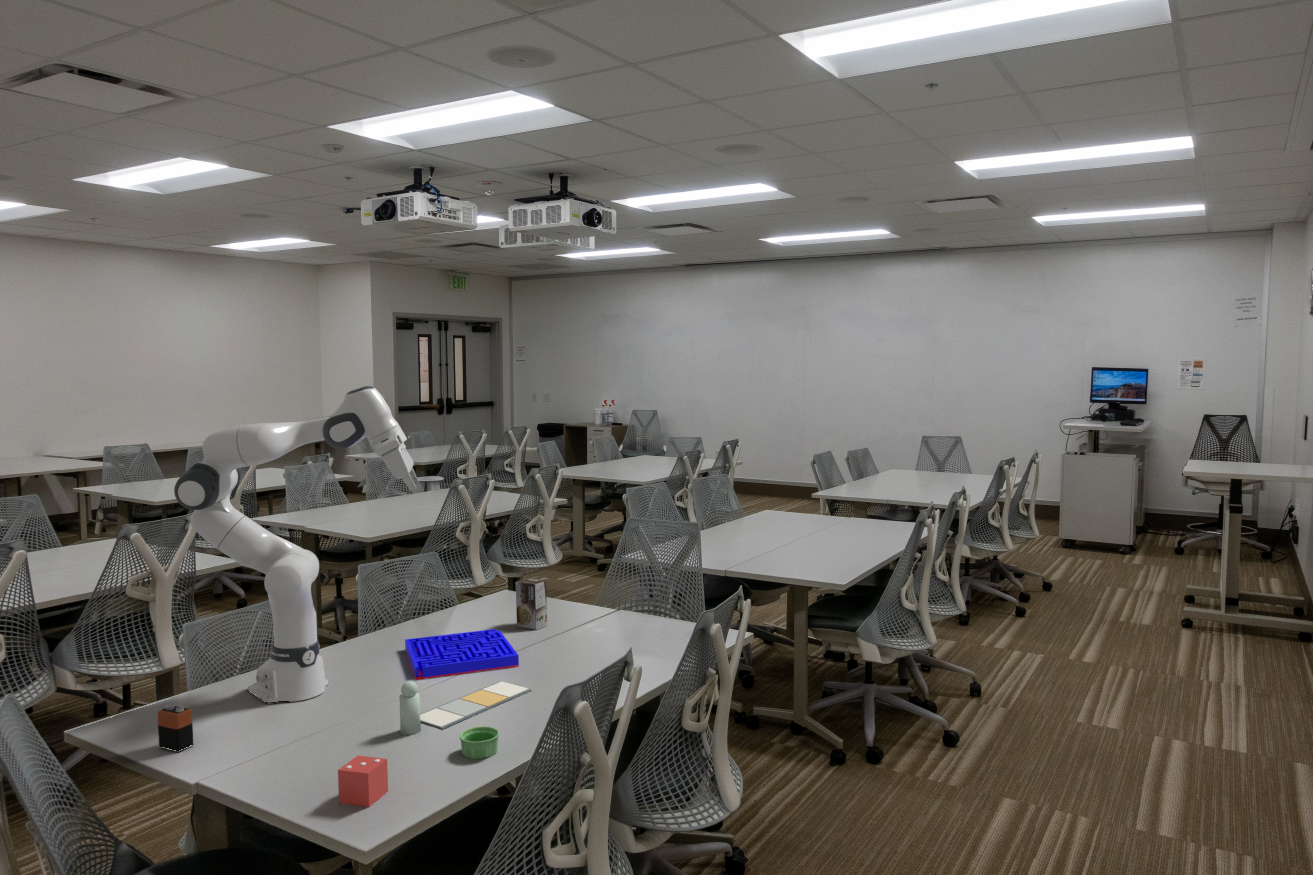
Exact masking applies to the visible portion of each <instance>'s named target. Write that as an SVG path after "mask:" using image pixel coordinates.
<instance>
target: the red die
mask: <svg viewBox="0 0 1313 875" xmlns="http://www.w3.org/2000/svg"><path fill="white" fill-rule="evenodd" d="M388 774H389V772H388V758H383V757H375V756H367V755H356V756H355V757H354V758H352V759H350V760H349V761H348V762H347V763H345V764H344V765H343V766H341V767H340V768H339V769H337V782H338V786H337V787H338V804H345V805H351V806H360V807H366V808H370V807H371V806H372V805H373V804H374V803H376V802H377V801H378V800H380V799H381V798H382V797H383V796H384V795H385V794H387V793H388V792H389V780H388V779H389V778H388V777H389V776H388Z"/></svg>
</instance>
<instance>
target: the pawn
mask: <svg viewBox="0 0 1313 875" xmlns="http://www.w3.org/2000/svg"><path fill="white" fill-rule="evenodd" d="M418 691H419V688H418V684H417V683H416V682H415V681H412V680H408V681H405V682H404V683H403V684H402V685H401V688H400V692H401V694H400V695H399V720H400V721H399V727H400V729H399V730H400V734H401V735H402V736H403V735H404V736H412V735H411V734H413V735H416V733H417V734H418V733H420V732H421V730H422V729H421V726H422V723H421V722H420V714H421V696H420V693H419V692H418Z"/></svg>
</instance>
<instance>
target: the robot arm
mask: <svg viewBox="0 0 1313 875" xmlns="http://www.w3.org/2000/svg"><path fill="white" fill-rule="evenodd" d="M365 440H367V441H368V442H369V444H370V446H371V447H372V449H373V451H374V453H375V455H376V456H377V457H380V458H381V459H382V461H383V462H384V464H385V465H386V467H387V468H388V469H389V471H390V472H391V474H392V476H394V478H396V480H400V479H401V480H402V481H403V483H404V484H405V486H407V488H408V489H409V491H410V492H413V491H415V490H416V489H417V484H419V481H420V480H419V479H418V478H417V476H416V473H415V471H414V468H413V467H414V464H415V463H414V460H413V459H412V457H411V455H410V453H409V452H408V449H406V448H407V446H406V444H405V442H407V440H408V438H407V436H406V435H405V432H404V431H403V429H402V427H401V425H400V424H399V422H398V421H397V420H396V419H395V418H394V417H393V415H392V411H391V408H390V406H389V404H388V402H387V401H386V400H385V399H384V397H383V396H382V395H381V393H380V392H379V391H378V389H377V388H375V387H374V386H372V385H365V386H362V387H359V388H356V389H352V390H349V391H348V392H347V393H346V394H345V396H344V399H343V401H342V402H341V404H340V405H339V406H338V408H337V409H336V410H335V412H333V413H332V415H327V416H322V417H317V418H313V419H307V420H301V421H287V422H260V423H259V422H258V423H257V422H256V423H248V424H247V423H246V424H241V425H238V426H237V425H235V426H232V427H228V428H224V429H221V430H218V431H215V432H213V433H211V434H209V435H208V436H206V438H205V439H204V441H203V444H202V454H203V460H202V461H201V462H196V463H194V464H193V465H192V466H190V468H188V469H187V470H186V471H184V472H183V473H182V474H181V476H179V478H178V480H176V482H175V484H174V490H173V494H174V497H175V499H176V501H177V503H179V505H181V506H182V507H183V508H185V509H188V510H191V511H193V512H192V513H191V516H190V525H191V527H192V529H193V530H194V531H195V532H196V533H197V534H199V536H201V538H202V539H203V540H205V541H206V542H207V543H209V544H210V545H211V546H213V548H216V549H217V550H219V551H220V552H221V553H223V554H224V555H226V556H227V557H229V558H230V559H231V560H233V561H235V562H236V563H238V564H239V565H241V566H243V567H245V568H249V569H253V570H255V571H258V572H260V573H262V574H264V575H265V576H264V583H263V584H264V589H265V591H266V594H267V598H268V601H269V606H270V610H271V615H272V625H273V626H272V629H273V644H270V645H268V646H269V648H268V650H270V656H269V658H268V659H267V660H266V661H265V662H264V663H263V664H261V665H260V666H259V667H258V669H257V671H256V676H255V680H256V682H254V683H252V684H250V685H249V686H247V687H246V688H247V689H248V690H250V691H251V692H252V693H254V694H256V695H257V696H258V697H260V698H261V699H263V700H264V701H265V702H276V703H279V702H278V701H289V702H301V701H304V700H309V699H313V698H315V697H317V696H319V695H320V696H321V695H322V694H323V693H324V692H325V691H326V687H327V686H328V684H329V679H327V678H325V668H324V661H323V656H321V655H319V654H320V647H321V646H320V641H319V639H318V630H317V629H318V625H317V624H318V623H317V611H316V609H315V606H314V603H313V602H314V601H313V596H312V590H311V589H312V584H313V583H314V582H315V581H316V579H317V577H318V576H319V572H320V560H319V558H318V557H317V555H316V554H315V553H314V552H313V551H311V550H309V549H304V548H303V547H301V546H298V545H297V544H295V543H293V542H291V541H289V540H287V539H285V538H283V537H280V536H278V535H276V534H274V533H273V532H271V531H269V530H267V529H266V528H265V527H263V526H261V525H260V524H258V522H256V521H254V520H253V519H251V518H250V517H248V515H245V514H244V513H242V512H241V511H239V510H238V509H236V508H235V507H234V506H233V505H232V503H231V500H232V499H234V498H235V497H236V493H237V490H238V487H239V485H240V482H241V480H242V469H241V468H246V467H252V466H253V467H254V466H259V465H263V464H266V463H268V462H272V461H274V460H277V459H279V458H281V457H282V456H285V455H286V454H288V453H290V452H292V451H293V450H296V449H297V448H299V447H302V446H305V445H308V444H312V443H317V442H324V441H325V442H326V444H328V445H329V446H330V447H331V448H333V449H336V450H346V449H350V448H352V447H354V446H356V445H358V444H359V443H361V442H362V441H365ZM265 702H264V703H265ZM289 702H288V703H289Z"/></svg>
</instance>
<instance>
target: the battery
mask: <svg viewBox="0 0 1313 875" xmlns="http://www.w3.org/2000/svg"><path fill="white" fill-rule="evenodd" d="M156 715H157V730H158V732H157V733H158V747H159V746H160V747H165V748H169V749H172V750H176V751H179V750H181V749H184V748H186V747H189V746H190V745H193V746H194V728H193V727H194V726H193V725H194V724H193V710H192V708H188V707H184V706H178V705H175V704H174V703H168V704H165V705H164V708H162V709H159V710H158V711H157V714H156Z"/></svg>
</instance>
